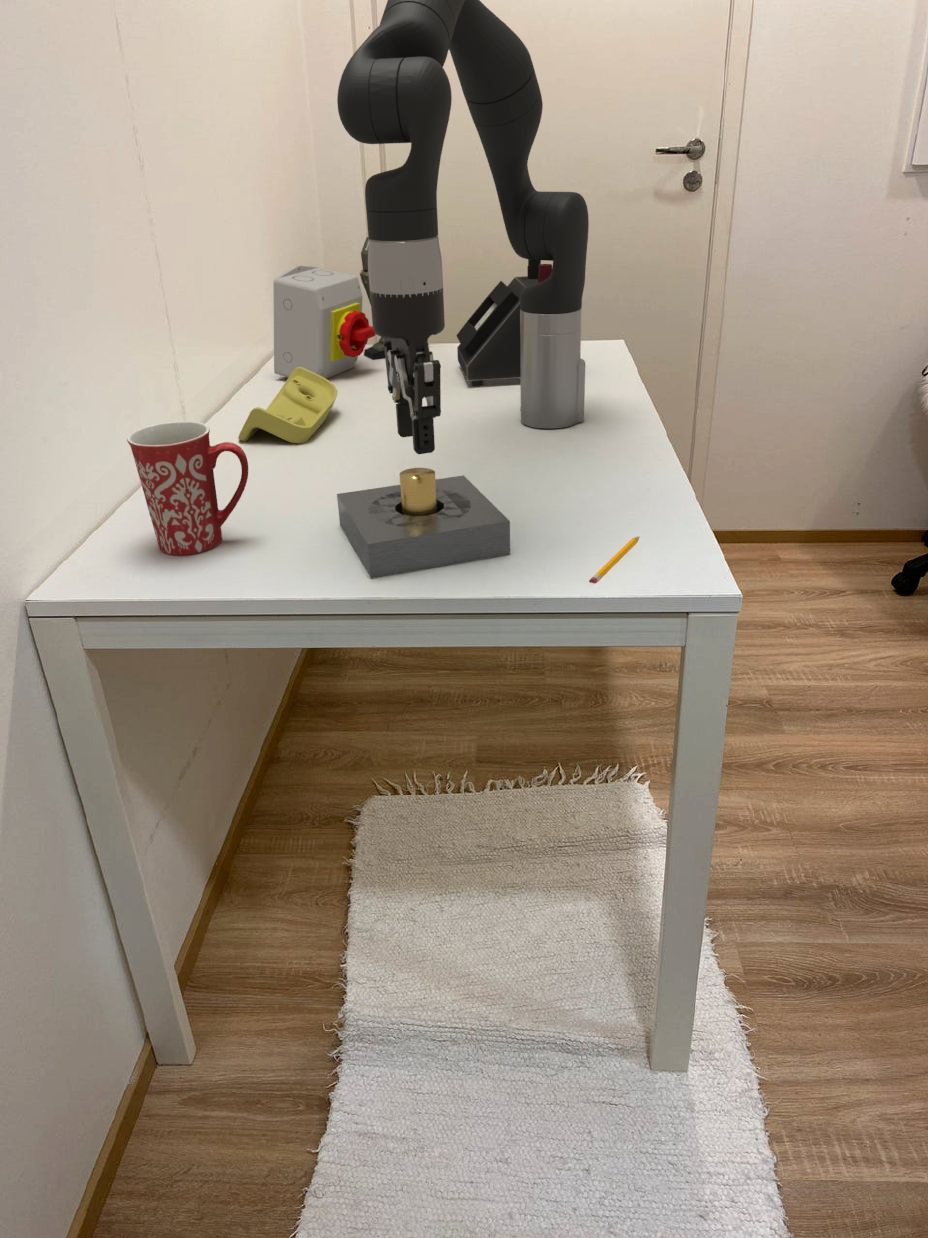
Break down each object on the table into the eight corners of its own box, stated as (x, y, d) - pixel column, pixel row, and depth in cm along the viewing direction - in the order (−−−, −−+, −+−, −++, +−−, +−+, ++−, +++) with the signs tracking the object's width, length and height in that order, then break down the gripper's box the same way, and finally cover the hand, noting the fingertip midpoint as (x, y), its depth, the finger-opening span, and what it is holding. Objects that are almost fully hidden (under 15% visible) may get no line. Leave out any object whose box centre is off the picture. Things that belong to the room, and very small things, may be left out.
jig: (464, 505, 118) (463, 475, 116) (510, 554, 105) (509, 521, 103) (340, 524, 114) (336, 493, 112) (370, 578, 100) (367, 544, 98)
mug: (141, 561, 106) (116, 446, 100) (160, 530, 114) (139, 422, 108) (252, 556, 106) (234, 441, 100) (264, 525, 114) (248, 417, 108)
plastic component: (307, 431, 141) (246, 402, 140) (293, 472, 145) (234, 444, 144) (345, 387, 157) (290, 361, 156) (332, 424, 161) (278, 399, 160)
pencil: (588, 584, 98) (588, 578, 98) (635, 538, 108) (636, 532, 108) (595, 585, 98) (595, 580, 97) (642, 539, 108) (642, 533, 107)
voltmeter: (456, 367, 182) (452, 258, 173) (539, 362, 183) (540, 254, 174) (465, 388, 168) (461, 271, 159) (555, 383, 169) (556, 266, 160)
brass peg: (432, 530, 111) (429, 465, 108) (442, 542, 108) (439, 476, 104) (400, 535, 110) (395, 470, 107) (409, 548, 107) (405, 481, 103)
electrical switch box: (340, 398, 173) (344, 287, 162) (273, 380, 178) (273, 271, 167) (380, 379, 185) (386, 274, 174) (316, 362, 189) (318, 259, 179)
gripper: (463, 292, 91) (468, 458, 99) (421, 272, 103) (429, 422, 111) (388, 299, 89) (400, 468, 97) (354, 278, 101) (367, 430, 109)
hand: (415, 443), depth 104 cm, fingers open, 6 cm apart
